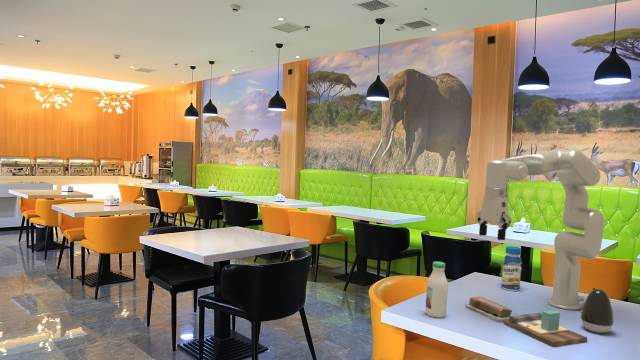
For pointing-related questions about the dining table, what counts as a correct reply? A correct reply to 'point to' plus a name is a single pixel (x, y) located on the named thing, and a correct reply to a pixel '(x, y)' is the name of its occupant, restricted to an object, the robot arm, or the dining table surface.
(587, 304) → the brown egg-shaped diffuser
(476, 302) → the packaged product
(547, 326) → the teal block on plate
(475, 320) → the dining table surface
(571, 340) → the ticket board
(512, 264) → the beverage bottle
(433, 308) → the milk bottle
